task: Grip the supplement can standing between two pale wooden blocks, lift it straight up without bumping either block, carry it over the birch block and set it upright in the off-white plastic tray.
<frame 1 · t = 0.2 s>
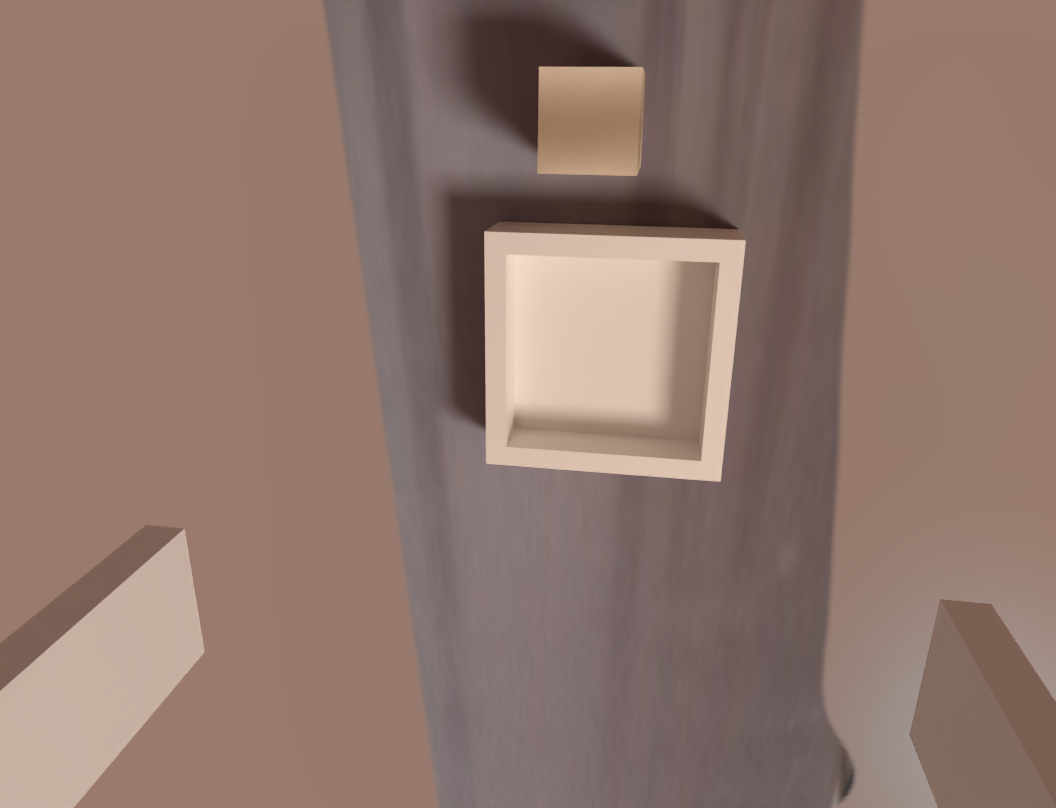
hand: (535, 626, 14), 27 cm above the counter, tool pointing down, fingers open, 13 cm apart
birch block: (599, 120, 37), on the counter
off-white tray: (610, 340, 40), on the counter
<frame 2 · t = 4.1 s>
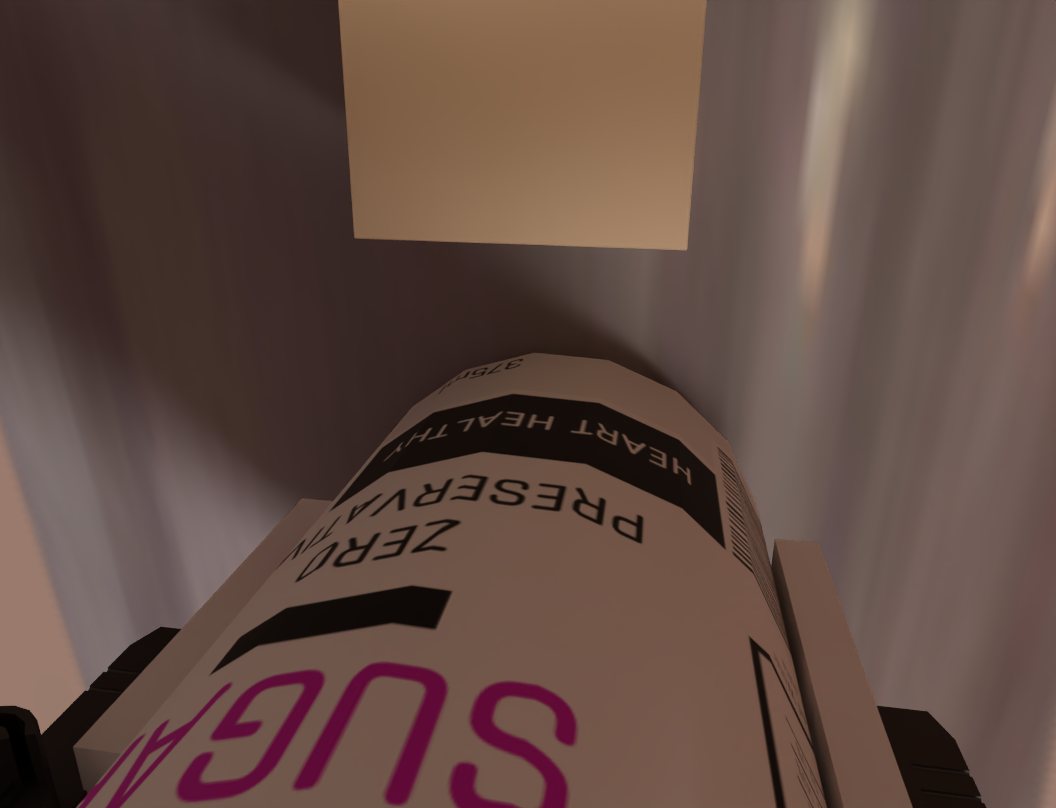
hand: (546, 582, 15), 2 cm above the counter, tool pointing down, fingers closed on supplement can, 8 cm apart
supplement can: (562, 519, 18), on the counter, touching gripper
maple block: (573, 77, 14), on the counter
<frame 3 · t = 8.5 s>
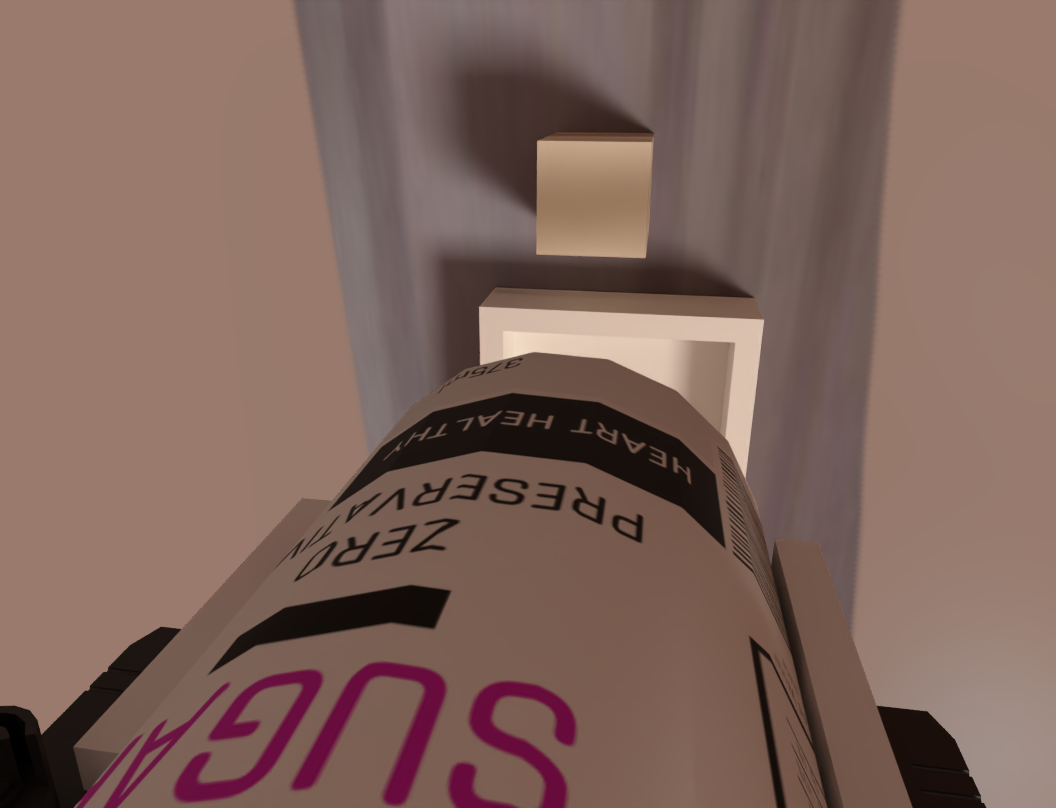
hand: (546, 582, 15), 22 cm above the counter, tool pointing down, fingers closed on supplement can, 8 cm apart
supplement can: (562, 518, 18), point 20 cm above the counter, touching gripper
birch block: (603, 182, 34), on the counter
off-white tray: (616, 411, 38), on the counter
when the fingers open (5 cm above the counter, at t = 12.9 s): supplement can drops 2 cm, resting on off-white tray.
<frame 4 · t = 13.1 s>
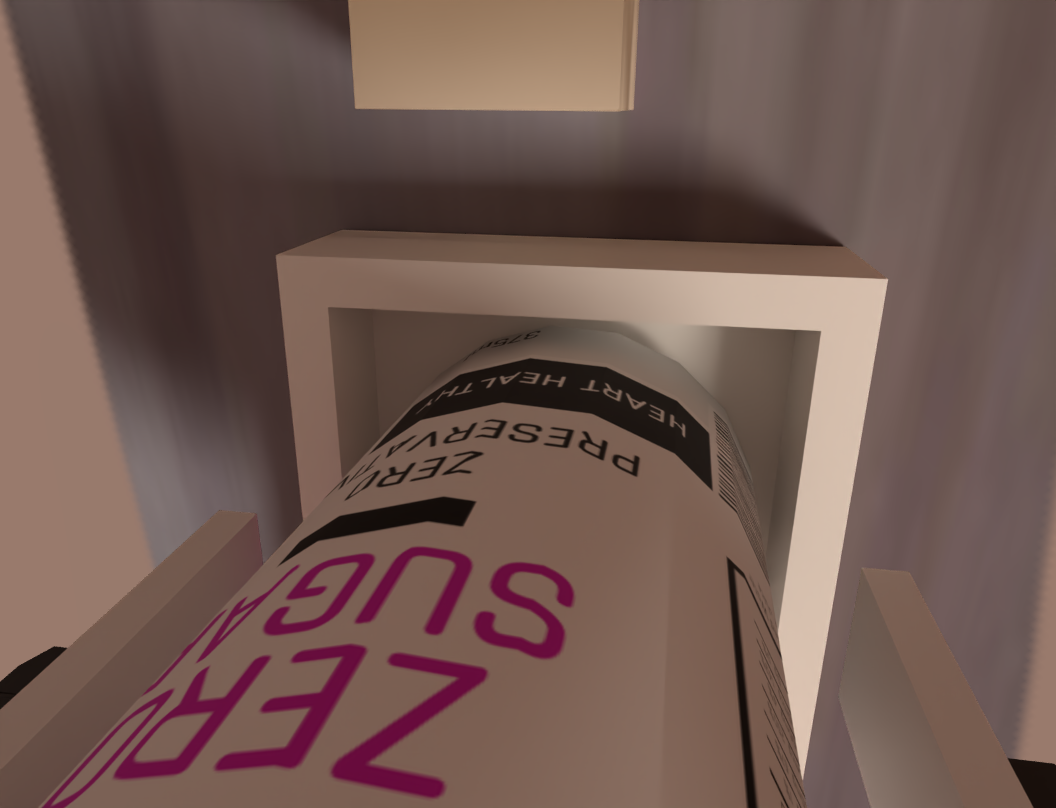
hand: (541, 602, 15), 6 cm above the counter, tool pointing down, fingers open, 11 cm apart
supplement can: (574, 480, 19), point 1 cm above the counter, touching off-white tray
birch block: (542, 6, 17), on the counter
off-white tray: (574, 466, 20), on the counter
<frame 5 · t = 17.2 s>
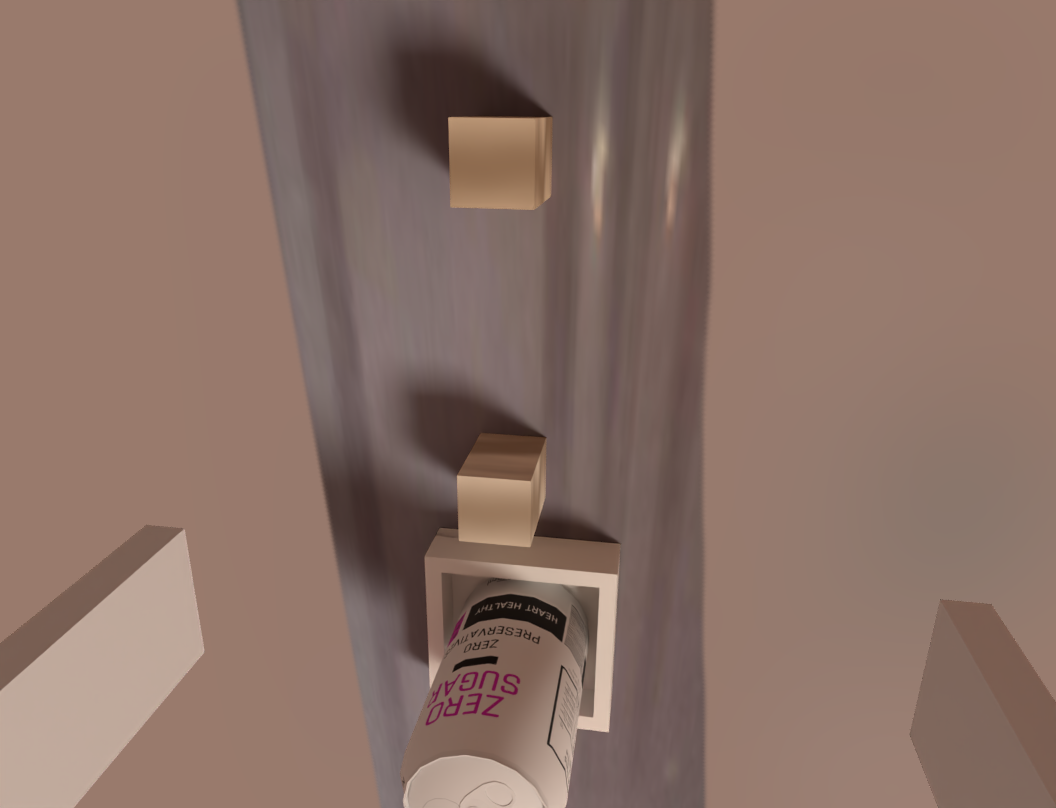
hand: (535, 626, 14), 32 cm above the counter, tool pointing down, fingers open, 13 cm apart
supplement can: (527, 619, 51), point 1 cm above the counter, touching off-white tray
birch block: (513, 465, 48), on the counter
off-white tray: (527, 612, 52), on the counter
maple block: (514, 156, 42), on the counter
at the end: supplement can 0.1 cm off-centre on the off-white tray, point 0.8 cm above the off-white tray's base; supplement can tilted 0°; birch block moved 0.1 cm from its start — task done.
